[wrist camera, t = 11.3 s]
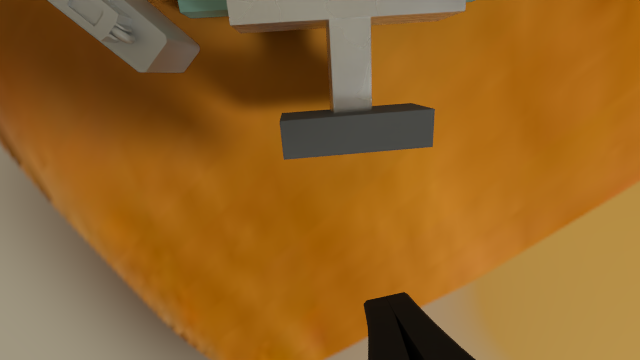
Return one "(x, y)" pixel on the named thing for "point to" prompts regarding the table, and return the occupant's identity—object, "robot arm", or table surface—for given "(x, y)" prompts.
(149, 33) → the lighter
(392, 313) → the robot arm
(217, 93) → the table surface
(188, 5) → the press
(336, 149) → the ram
